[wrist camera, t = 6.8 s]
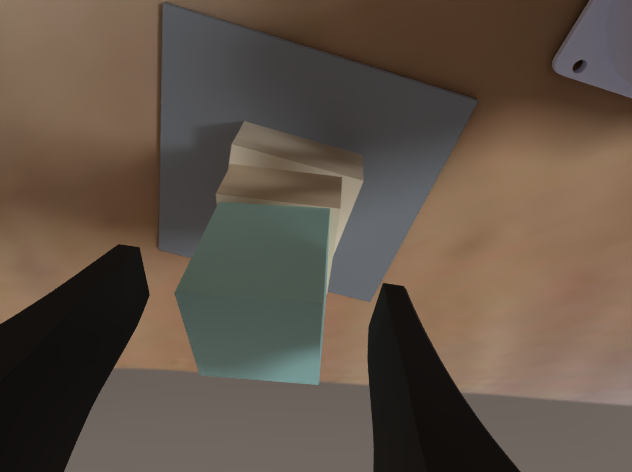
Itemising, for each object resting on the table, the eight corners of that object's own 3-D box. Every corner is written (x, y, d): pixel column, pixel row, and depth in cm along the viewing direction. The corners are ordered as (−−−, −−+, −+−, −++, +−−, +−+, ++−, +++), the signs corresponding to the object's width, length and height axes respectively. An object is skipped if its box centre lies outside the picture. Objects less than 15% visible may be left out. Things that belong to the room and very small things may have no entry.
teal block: (330, 208, 16) (321, 303, 12) (326, 287, 19) (318, 384, 15) (218, 202, 16) (174, 292, 12) (232, 280, 19) (199, 375, 15)
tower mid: (342, 177, 18) (340, 208, 16) (329, 259, 21) (326, 294, 19) (231, 163, 18) (215, 194, 16) (235, 247, 21) (223, 281, 19)
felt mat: (476, 99, 18) (478, 101, 18) (369, 298, 26) (369, 302, 26) (165, 1, 16) (162, 3, 16) (160, 246, 25) (158, 249, 25)
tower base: (362, 154, 20) (363, 181, 18) (329, 243, 23) (326, 272, 21) (244, 121, 19) (231, 144, 17) (229, 217, 23) (217, 244, 21)
